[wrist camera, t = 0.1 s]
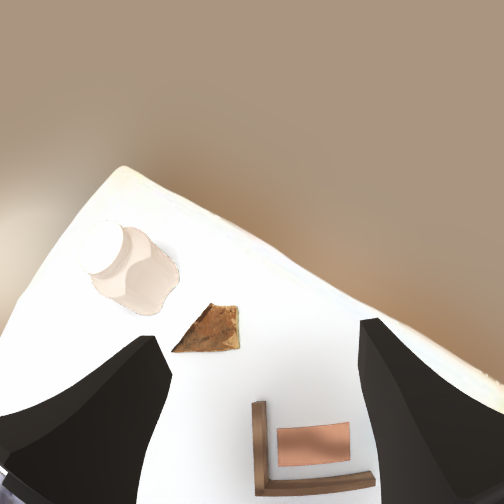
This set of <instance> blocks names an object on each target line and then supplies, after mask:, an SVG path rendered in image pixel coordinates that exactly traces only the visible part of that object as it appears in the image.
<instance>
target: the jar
mask: <svg viewBox="0 0 504 504" xmlns="http://www.w3.org/2000/svg"><path fill="white" fill-rule="evenodd" d="M79 262H80V265H81V268H82V269H83V270H84V271H85V272H86V273H88V274H89V275H91V280H92V283H93V285H94V287H95V289H96V290H97V291H98V292H99V293H100V294H101V295H103V296H105V297H107V298H109V299H112V300H113V301H115V302H117V303H119V304H121V305H123V306H125V307H127V308H129V309H130V310H132V311H133V312H135V313H137V314H140V315H154V314H157V313H159V311H160V310H161V308H162V305H163V303H164V301H165V299H166V297H167V296H168V294H169V293H170V292H171V291H172V290H173V289H174V288H175V287H176V286H177V284H178V283H179V273H178V269H177V267H176V265H175V263H174V262H173V261H172V260H171V259H170V258H169V257H168V256H167V255H165V254H164V253H163V252H162V251H161V250H160V249H159V248H158V247H157V246H156V245H155V244H154V243H153V242H152V241H151V240H150V239H149V237H148V236H147V235H146V234H145V233H144V232H143V231H141V230H139V229H137V228H133V227H126V228H123V227H122V226H121V225H119V224H118V223H117V222H115V221H104V222H101V223H99V224H98V225H96V226H95V227H93V228H92V229H91V230H90V231H89V233H88V234H87V235H86V237H85V238H84V240H83V242H82V245H81V247H80V252H79Z"/></svg>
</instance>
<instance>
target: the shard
mask: <svg viewBox="0 0 504 504" xmlns="http://www.w3.org/2000/svg"><path fill="white" fill-rule="evenodd" d="M238 348H240V344H239V334H238V310H237V307H236V306H216V305H213V304H212V303H210V304H209V306H208V307H207V308H206V309H205V310H204V311H203V313H202V314H201V316H200V317H198V319H197V320H196V321H195V322H194V323H193V324H192V326H191V327H190V328H189V329H188V331H187V332H186V333H185V335H184V336H183V337H182V339H181V341H180V342H179V343H178V344H177V345H176V346H175V347H174V348H173V350H172V351H171V352H185V351H197V352H204V351H209V352H211V351H225V350H228V349H238Z"/></svg>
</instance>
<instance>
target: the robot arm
mask: <svg viewBox="0 0 504 504" xmlns="http://www.w3.org/2000/svg"><path fill="white" fill-rule="evenodd" d="M358 370H359V376H360V382H361V388H362V393H363V396H364V400H365V403H366V407H367V411H368V415H369V418H370V422H371V426H372V430H373V434H374V438H375V441H376V447H377V452H378V460H379V470H380V482H381V500H382V504H504V414H502V413H500V412H497V411H495V410H493V409H491V408H489V407H487V406H485V405H484V404H482V403H480V402H478V401H477V400H475V399H473V398H471V397H470V396H468V395H466V394H465V393H463V392H462V391H460V390H459V389H457V388H456V387H454V386H453V385H451V384H450V383H449V382H447V381H446V380H444V379H443V378H442V377H440V376H439V375H438V374H437V373H436V372H434V371H433V370H432V369H431V368H430V367H428V366H427V365H426V364H425V363H424V362H423V361H422V360H420V359H419V358H418V357H417V356H416V355H415V354H414V353H413V352H412V351H411V350H410V349H409V348H408V347H407V346H406V345H404V344H403V343H402V342H401V341H400V340H399V339H398V338H397V337H396V335H395V334H394V333H393V332H392V331H391V330H390V329H389V328H388V327H387V326H386V325H385V324H384V323H383V322H382V321H381V320H380V319H379V318H373V319H367V320H360V336H359V353H358ZM171 379H172V373H171V371H170V369H169V367H168V364H167V362H166V360H165V358H164V356H163V354H162V351H161V349H160V347H159V345H158V343H157V340H156V338H155V336H140V337H138V338H137V339H135V340H134V341H132V342H131V343H130V344H128V345H127V346H126V347H124V348H123V349H122V350H120V351H119V352H118V353H116V354H115V355H114V356H113V357H111V358H110V359H109V360H107V361H106V362H105V363H104V364H102V365H101V366H100V367H98V368H97V369H96V370H94V371H93V372H92V373H90V374H89V375H87V376H86V377H85V378H83V379H82V380H80V381H79V382H77V383H76V384H74V385H73V386H71V387H70V388H68V389H66V390H65V391H63V392H61V393H60V394H58V395H56V396H54V397H52V398H50V399H48V400H46V401H44V402H42V403H39V404H37V405H35V406H33V407H30V408H28V409H25V410H22V411H19V412H16V413H13V414H9V415H5V416H1V417H0V466H1V467H3V468H4V469H5V470H6V471H7V472H8V474H7V475H6V476H5V475H4V474H3V473H1V472H0V504H136V500H137V492H138V486H139V480H140V475H141V470H142V466H143V462H144V457H145V453H146V450H147V447H148V444H149V441H150V439H151V436H152V434H153V431H154V429H155V426H156V424H157V421H158V419H159V417H160V414H161V412H162V409H163V406H164V404H165V401H166V399H167V395H168V392H169V388H170V383H171Z"/></svg>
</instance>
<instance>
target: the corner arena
mask: <svg viewBox="0 0 504 504" xmlns="http://www.w3.org/2000/svg"><path fill="white" fill-rule="evenodd" d="M252 426H253V452H254V476H255V496H304V495H317V494H327V493H336V492H344V491H350V490H357V489H362V488H368V487H373V486H375V482H376V479H375V477H374V476H373V474H372V473H371V471H367V472H361V473H355V474H349V475H342V476H334V477H325V478H315V479H301V480H271V481H269V477H268V449H267V423H266V401H257V402H254V403H252ZM277 439H278V467H279V466H301V465H314V464H325V463H333V462H341V461H348V460H350V436H349V422H346V423H339V424H332V425H323V426H313V427H301V428H286V429H277Z"/></svg>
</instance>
